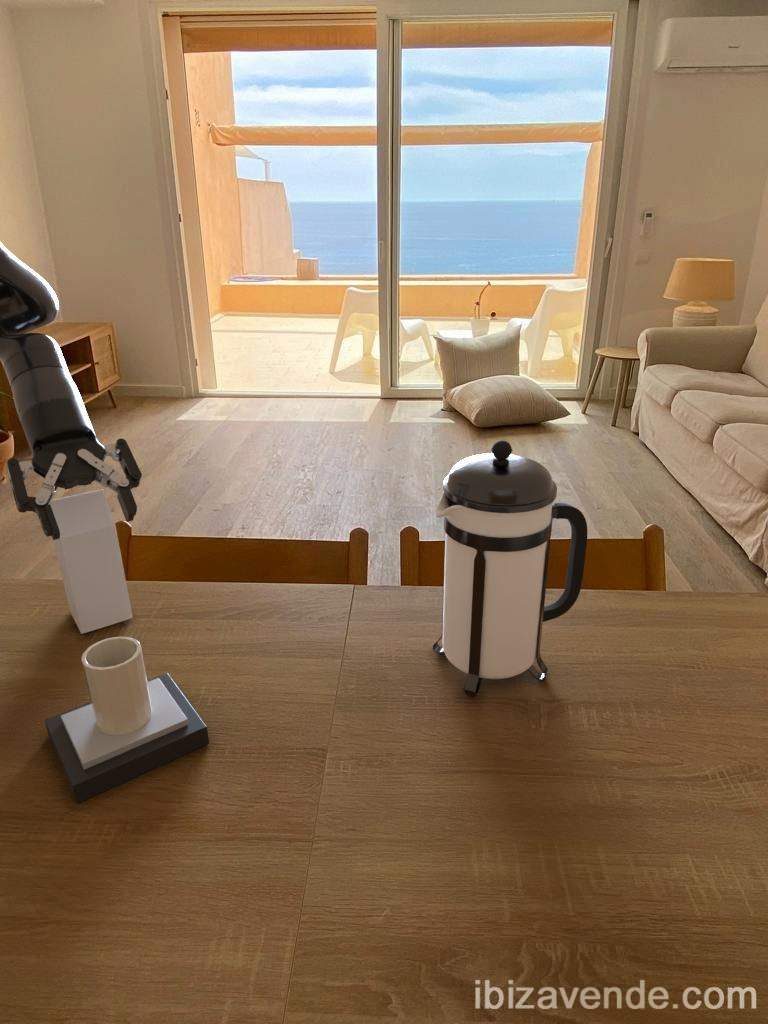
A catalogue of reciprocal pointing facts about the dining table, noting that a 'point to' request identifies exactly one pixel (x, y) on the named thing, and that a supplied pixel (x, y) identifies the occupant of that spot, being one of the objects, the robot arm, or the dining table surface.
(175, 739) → the scale
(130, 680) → the cup
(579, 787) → the dining table surface
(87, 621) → the milk carton
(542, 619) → the coffee press
